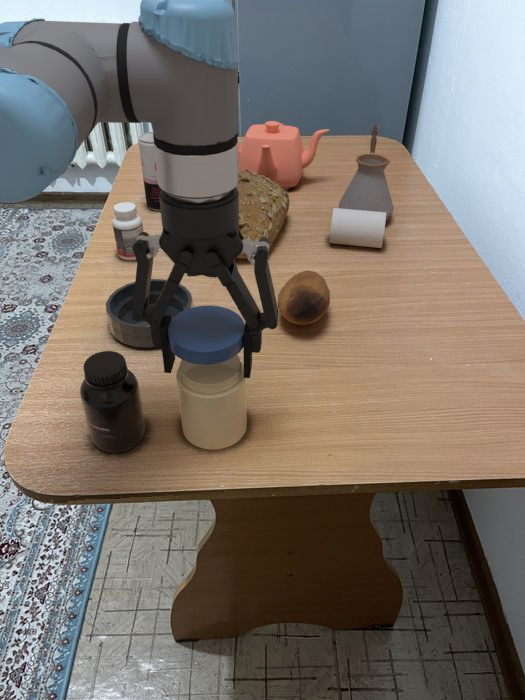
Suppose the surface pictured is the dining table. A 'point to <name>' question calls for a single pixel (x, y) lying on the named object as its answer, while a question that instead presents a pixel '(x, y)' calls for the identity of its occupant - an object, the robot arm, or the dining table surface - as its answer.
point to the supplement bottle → (112, 402)
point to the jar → (212, 403)
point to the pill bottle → (126, 229)
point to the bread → (260, 207)
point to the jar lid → (206, 334)
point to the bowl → (140, 331)
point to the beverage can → (149, 170)
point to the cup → (357, 227)
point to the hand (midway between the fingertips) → (208, 367)
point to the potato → (304, 298)
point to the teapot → (277, 152)
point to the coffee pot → (369, 183)
